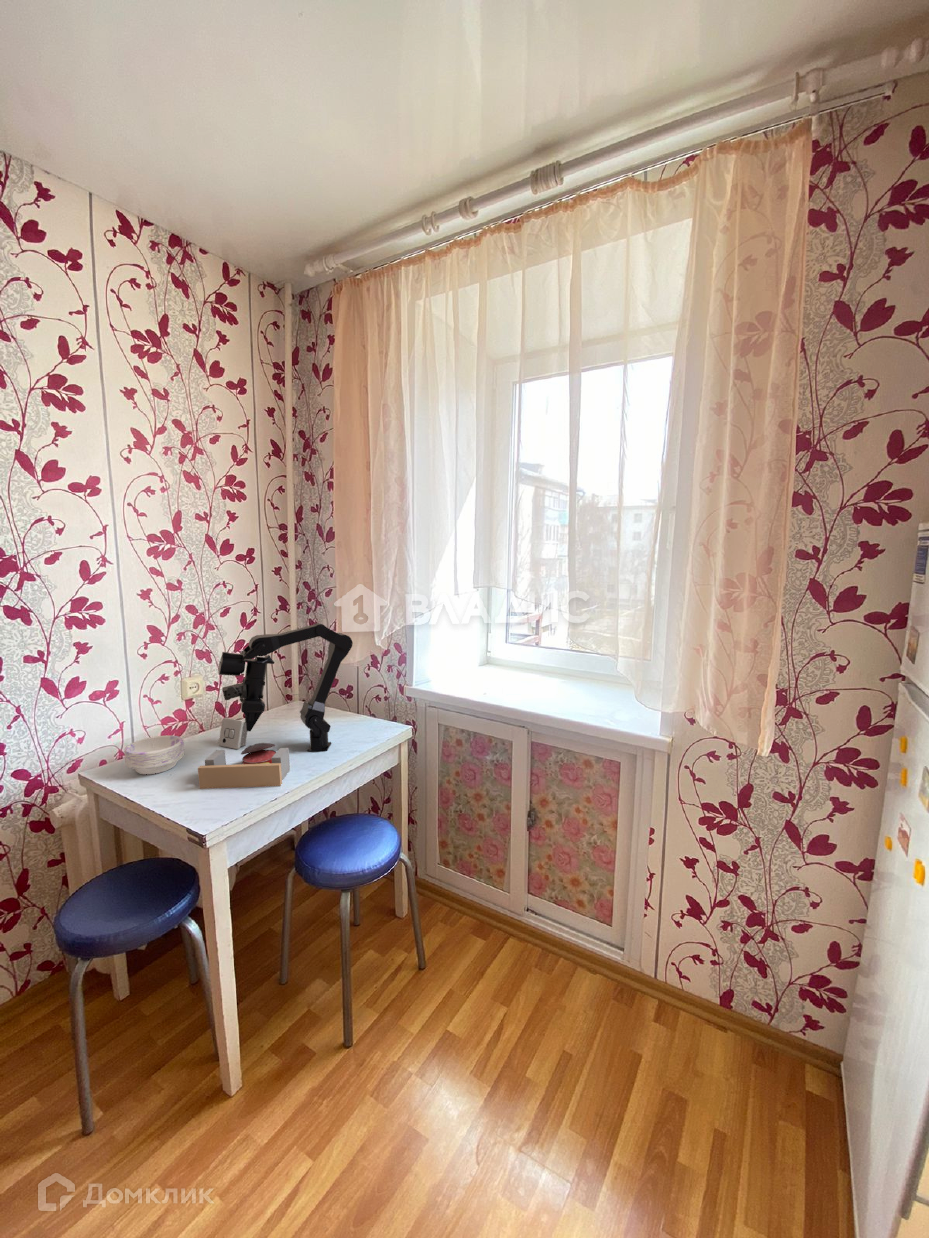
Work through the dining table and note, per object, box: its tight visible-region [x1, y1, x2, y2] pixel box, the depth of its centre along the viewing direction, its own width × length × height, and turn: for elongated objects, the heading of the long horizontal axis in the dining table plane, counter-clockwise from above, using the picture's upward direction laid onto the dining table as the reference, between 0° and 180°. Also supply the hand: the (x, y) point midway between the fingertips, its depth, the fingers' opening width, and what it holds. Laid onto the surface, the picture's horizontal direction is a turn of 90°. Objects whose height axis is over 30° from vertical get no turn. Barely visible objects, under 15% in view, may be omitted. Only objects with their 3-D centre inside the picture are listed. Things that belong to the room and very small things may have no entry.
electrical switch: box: [218, 717, 248, 750], centre depth 167 cm, size 9×5×9 cm, turn 65°
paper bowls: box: [124, 735, 185, 775], centre depth 149 cm, size 15×15×8 cm
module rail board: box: [197, 747, 291, 790], centre depth 141 cm, size 10×22×7 cm, turn 92°
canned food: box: [240, 742, 277, 764], centre depth 150 cm, size 11×10×10 cm
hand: (247, 726), depth 151 cm, fingers open, 9 cm apart
